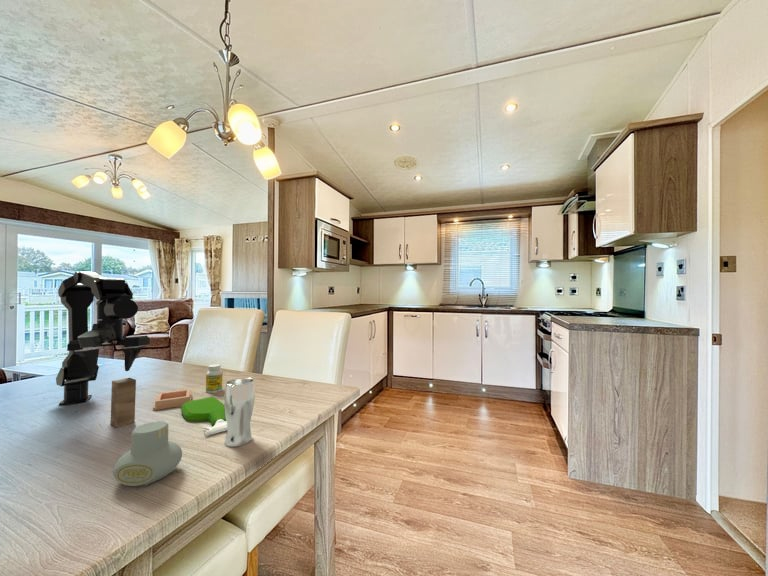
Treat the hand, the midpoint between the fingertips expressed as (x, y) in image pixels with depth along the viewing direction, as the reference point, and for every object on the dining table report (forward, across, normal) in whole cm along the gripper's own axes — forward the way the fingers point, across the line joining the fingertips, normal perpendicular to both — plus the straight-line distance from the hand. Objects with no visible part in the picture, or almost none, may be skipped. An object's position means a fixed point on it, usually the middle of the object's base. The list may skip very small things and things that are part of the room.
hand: (110, 372), depth 88 cm
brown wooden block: (+14, +6, -4) cm, 16 cm away
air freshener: (+17, +29, -31) cm, 46 cm away
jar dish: (+13, +11, +11) cm, 21 cm away
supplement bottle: (+14, +19, +23) cm, 33 cm away
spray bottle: (+16, +28, -3) cm, 33 cm away
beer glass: (+17, +42, -18) cm, 49 cm away
